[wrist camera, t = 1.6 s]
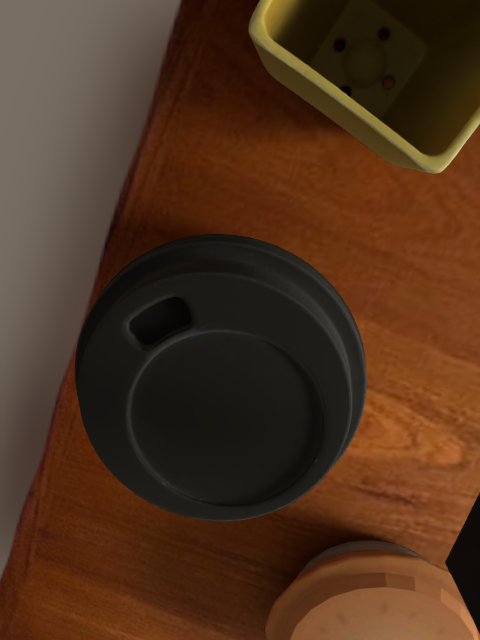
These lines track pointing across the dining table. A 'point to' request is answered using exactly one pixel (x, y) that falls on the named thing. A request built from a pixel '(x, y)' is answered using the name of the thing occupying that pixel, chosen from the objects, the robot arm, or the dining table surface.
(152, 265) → the coffee cup
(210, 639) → the dining table surface
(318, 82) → the flower pot
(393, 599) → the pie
